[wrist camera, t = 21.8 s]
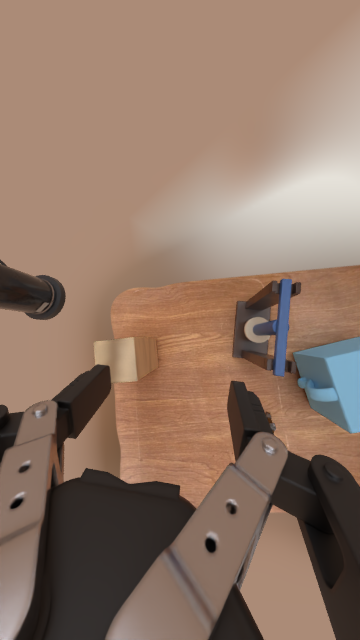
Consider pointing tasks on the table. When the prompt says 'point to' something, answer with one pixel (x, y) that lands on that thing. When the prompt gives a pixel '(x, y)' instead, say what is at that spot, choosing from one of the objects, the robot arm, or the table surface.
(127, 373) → the riser
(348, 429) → the teapot
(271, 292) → the stand
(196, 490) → the table surface
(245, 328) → the bar
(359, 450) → the table surface
